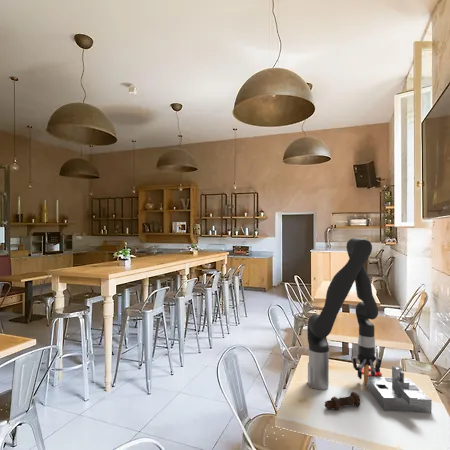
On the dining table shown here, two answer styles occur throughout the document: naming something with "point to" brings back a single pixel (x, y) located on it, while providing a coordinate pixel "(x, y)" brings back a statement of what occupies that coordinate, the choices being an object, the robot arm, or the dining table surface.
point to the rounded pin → (366, 373)
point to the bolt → (343, 401)
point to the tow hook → (370, 368)
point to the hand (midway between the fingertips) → (366, 378)
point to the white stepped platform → (398, 393)
